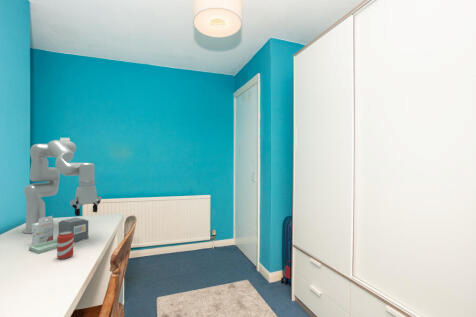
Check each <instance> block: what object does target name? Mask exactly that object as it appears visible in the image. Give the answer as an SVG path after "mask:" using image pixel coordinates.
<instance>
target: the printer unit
mask: <svg viewBox="0 0 476 317" xmlns="http://www.w3.org/2000/svg"><path fill="white" fill-rule="evenodd" d="M65 231H72V233H73V235H74V243H78V242H81V241H84V240H87V239H89V220H88V219H85V218H81V217H80V218H79V217H72V218H66V219H62V220H60V221H58V234H57V237H58V236H59V233H61V232H65Z"/></svg>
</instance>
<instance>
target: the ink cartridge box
mask: <svg viewBox="0 0 476 317" xmlns="http://www.w3.org/2000/svg"><path fill="white" fill-rule="evenodd" d="M53 216H54V215H50V216H45V218H41V219H38V223H35V224H32V233H31V246H33V245H37V244H41V243H44V242H48V241H52V240H54V217H53ZM43 220H45V221H43Z"/></svg>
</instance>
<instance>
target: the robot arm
mask: <svg viewBox="0 0 476 317" xmlns="http://www.w3.org/2000/svg"><path fill="white" fill-rule="evenodd" d="M76 150H77V146H76V144H75V142H73V141H70V140H60V139H54V140H51V141H49V142H48V143H36V144H33V145H32V146H30V150H29V154H30V158H31V163H30V170H29V180H30V181H31V182H35V183H29V184H28V185H26V186H25V187H24V192H23V193H24V196H25V205H26V206H25V208H26V210H25V229H23V230H22V233H23V234H32V224H35V223H38V219H41V218H45V217H46V203H45V201H44V200H43V198H44V197H52V196H56V195H57V194H58V191H59V185H60V178H61V175H63V176H66V177H72V176H78V186H77V187H76V190H75V197H74V199H72V200H70V201H69V204H70V206H71V207H72V208H73V210H74V215H75V216H77V217H79V216H81V206H82V205H83V206H84V205H89V204H93V205H92V213H98V207H99V204H100V203H101V201H102V199H103V197H101V196H100V195H99V196H98V194H97V193H98V192H97V188H96V186H95V185H96V184H97V181H96V180H95V163H92V162H71V161H72V160H73V159H74V155H75V152H76ZM48 158H56V159H55V163H54V164H55V167H54V166H53V167H50V166H49V160H48ZM43 221H46V219H45V220H43Z"/></svg>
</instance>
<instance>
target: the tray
mask: <svg viewBox="0 0 476 317" xmlns="http://www.w3.org/2000/svg"><path fill="white" fill-rule="evenodd" d="M52 250H57V239H53V240H52V241H48V242H44V243H41V244H37V245H30V246H28V251H30V252H33V253H36V254H43V253H45V252H49V251H52Z"/></svg>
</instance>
